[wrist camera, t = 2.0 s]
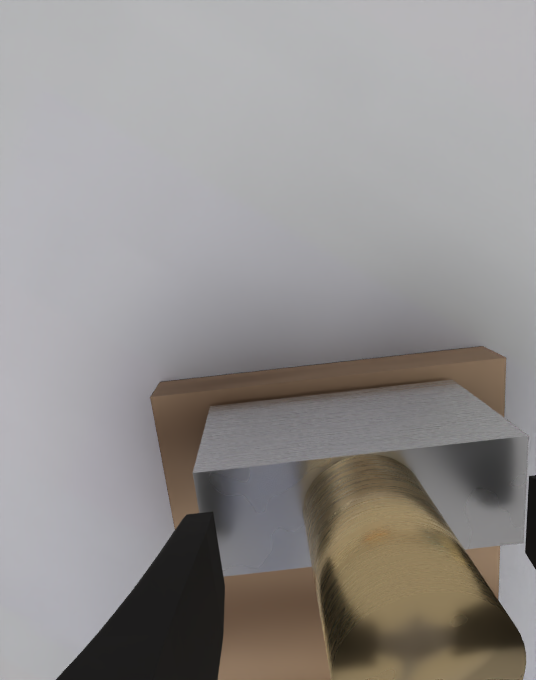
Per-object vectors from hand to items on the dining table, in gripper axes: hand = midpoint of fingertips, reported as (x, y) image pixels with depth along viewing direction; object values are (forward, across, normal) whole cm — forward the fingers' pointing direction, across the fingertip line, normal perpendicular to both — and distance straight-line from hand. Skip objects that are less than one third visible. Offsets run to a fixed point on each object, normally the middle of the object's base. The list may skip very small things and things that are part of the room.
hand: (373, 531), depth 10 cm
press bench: (+7, 0, +8) cm, 11 cm away
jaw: (+5, 0, 0) cm, 5 cm away
